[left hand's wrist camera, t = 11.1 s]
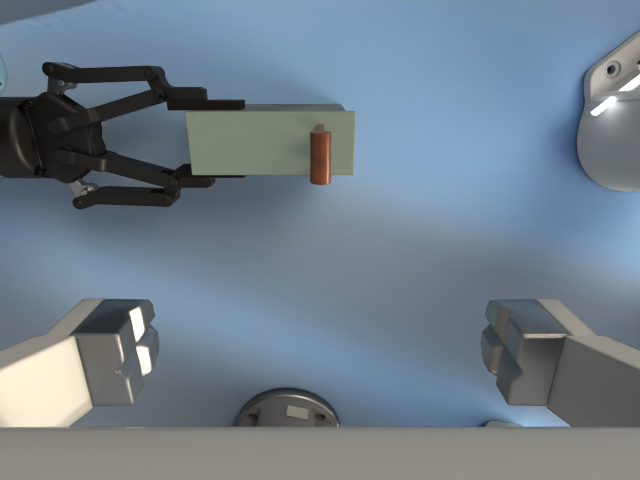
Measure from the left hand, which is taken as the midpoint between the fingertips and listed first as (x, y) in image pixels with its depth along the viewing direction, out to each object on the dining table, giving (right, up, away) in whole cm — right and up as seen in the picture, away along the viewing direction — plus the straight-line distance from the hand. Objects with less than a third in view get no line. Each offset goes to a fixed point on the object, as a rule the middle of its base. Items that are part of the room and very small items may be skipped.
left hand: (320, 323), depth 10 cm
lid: (-4, +11, +27) cm, 30 cm away
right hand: (-7, +12, +29) cm, 32 cm away
